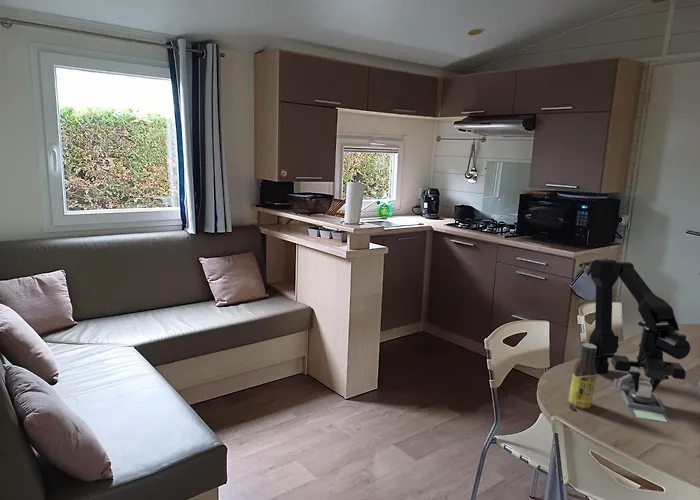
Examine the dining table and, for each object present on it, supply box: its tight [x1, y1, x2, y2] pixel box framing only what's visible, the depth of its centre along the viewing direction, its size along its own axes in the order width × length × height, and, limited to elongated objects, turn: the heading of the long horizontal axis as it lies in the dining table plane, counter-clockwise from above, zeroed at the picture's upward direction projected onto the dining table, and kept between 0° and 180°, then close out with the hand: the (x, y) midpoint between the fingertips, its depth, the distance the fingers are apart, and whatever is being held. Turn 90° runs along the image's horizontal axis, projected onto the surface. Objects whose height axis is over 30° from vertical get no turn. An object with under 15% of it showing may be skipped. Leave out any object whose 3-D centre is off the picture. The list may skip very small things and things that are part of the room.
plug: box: [629, 380, 657, 404], centre depth 155 cm, size 7×7×5 cm
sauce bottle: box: [567, 342, 598, 411], centre depth 151 cm, size 7×6×20 cm
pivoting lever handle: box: [613, 372, 633, 388], centre depth 164 cm, size 3×11×3 cm, turn 126°
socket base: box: [613, 377, 672, 424], centre depth 157 cm, size 10×25×2 cm, turn 165°
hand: (642, 392), depth 155 cm, fingers closed on plug, 3 cm apart
